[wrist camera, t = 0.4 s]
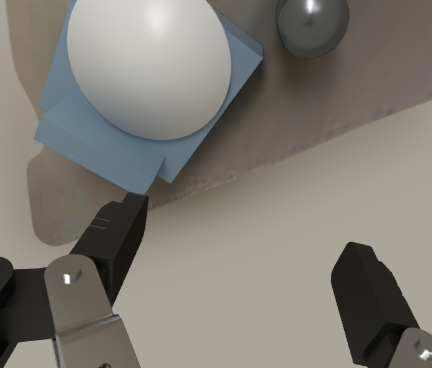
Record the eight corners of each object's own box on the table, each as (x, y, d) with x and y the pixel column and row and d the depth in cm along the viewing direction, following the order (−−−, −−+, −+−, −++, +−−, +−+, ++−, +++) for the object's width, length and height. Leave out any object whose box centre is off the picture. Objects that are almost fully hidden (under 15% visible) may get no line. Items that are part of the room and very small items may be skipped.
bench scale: (120, -82, 24) (67, -94, 17) (270, 35, 27) (272, 62, 21) (58, 94, 33) (8, 129, 26) (177, 165, 36) (158, 212, 30)
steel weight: (301, -37, 24) (311, -34, 19) (345, 1, 25) (364, 13, 20) (265, 17, 26) (265, 32, 21) (305, 50, 27) (314, 71, 23)
